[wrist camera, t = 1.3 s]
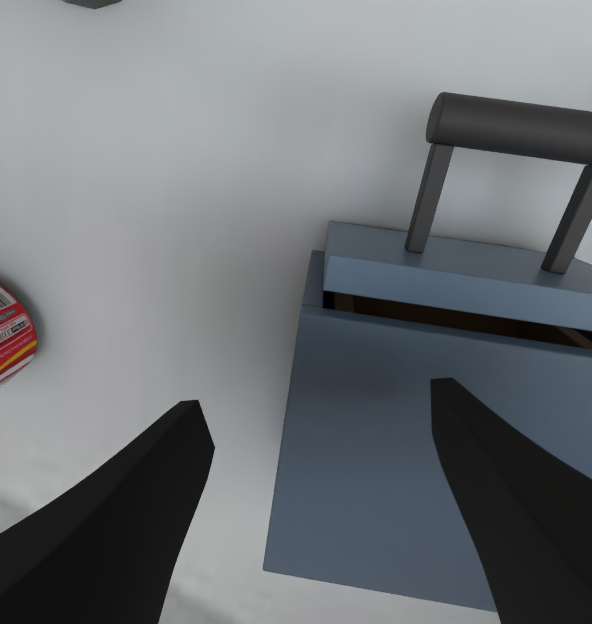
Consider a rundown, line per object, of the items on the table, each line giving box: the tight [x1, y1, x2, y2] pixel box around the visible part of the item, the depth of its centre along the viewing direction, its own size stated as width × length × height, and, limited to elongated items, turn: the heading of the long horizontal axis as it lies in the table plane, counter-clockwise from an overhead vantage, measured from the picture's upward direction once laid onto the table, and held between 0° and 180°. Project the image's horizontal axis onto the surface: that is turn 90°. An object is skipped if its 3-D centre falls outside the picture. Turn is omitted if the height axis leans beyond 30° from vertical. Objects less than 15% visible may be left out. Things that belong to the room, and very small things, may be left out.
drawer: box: [323, 92, 592, 349], centre depth 15 cm, size 17×11×6 cm, turn 173°
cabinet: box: [263, 250, 592, 612], centre depth 17 cm, size 13×12×8 cm
